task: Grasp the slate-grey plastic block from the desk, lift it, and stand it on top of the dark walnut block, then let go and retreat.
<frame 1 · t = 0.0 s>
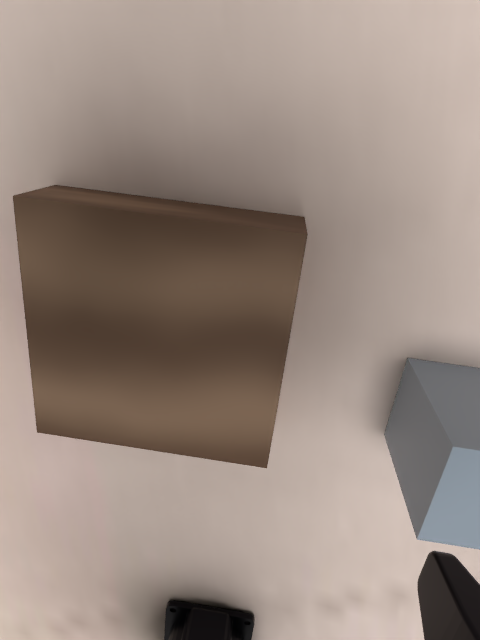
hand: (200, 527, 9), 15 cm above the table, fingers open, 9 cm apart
walnut block: (174, 312, 24), on the table
slate block: (441, 404, 24), on the table
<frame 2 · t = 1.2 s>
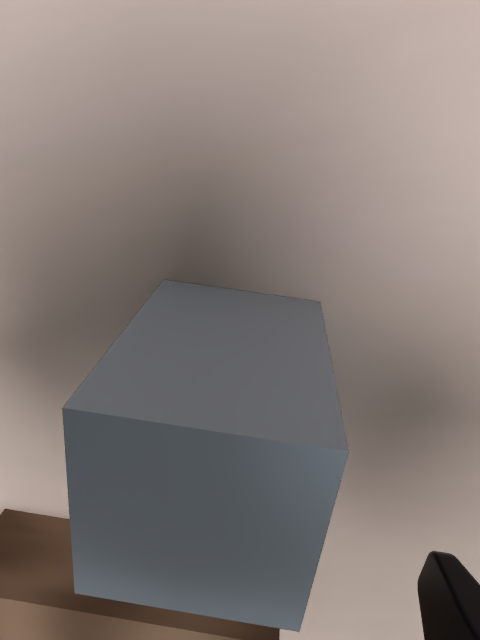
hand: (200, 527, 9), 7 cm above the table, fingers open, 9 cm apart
walnut block: (141, 610, 22), on the table
slate block: (233, 358, 15), on the table
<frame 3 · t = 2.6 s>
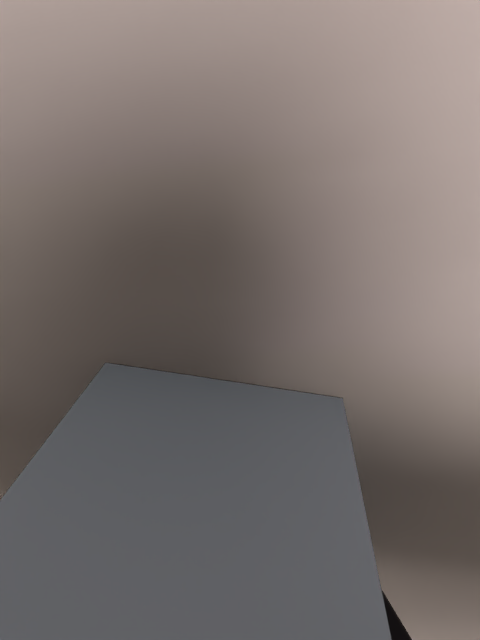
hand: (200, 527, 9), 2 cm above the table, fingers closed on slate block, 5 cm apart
slate block: (212, 471, 10), on the table, touching gripper
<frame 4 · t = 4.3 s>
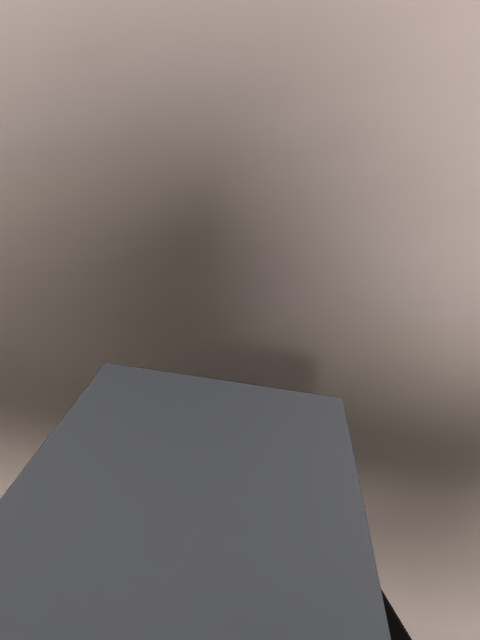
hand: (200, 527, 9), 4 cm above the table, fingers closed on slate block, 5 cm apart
slate block: (212, 471, 10), point 2 cm above the table, touching gripper
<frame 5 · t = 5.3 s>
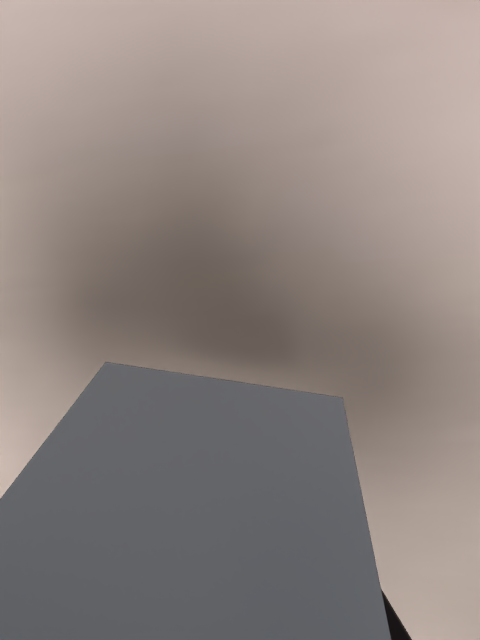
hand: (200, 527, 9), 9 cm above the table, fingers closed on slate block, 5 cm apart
slate block: (212, 471, 10), point 8 cm above the table, touching gripper
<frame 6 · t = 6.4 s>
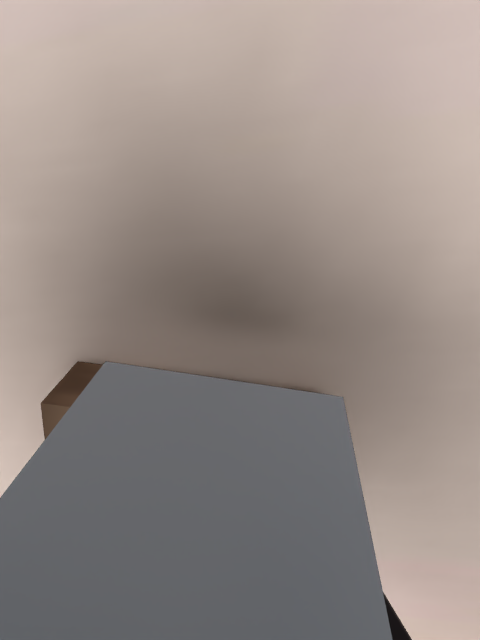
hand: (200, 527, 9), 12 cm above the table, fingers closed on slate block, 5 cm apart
walnut block: (192, 466, 24), on the table
slate block: (212, 470, 10), point 10 cm above the table, touching gripper
when the fingers open (7 cm above the table, at t = 8.9 s): slate block drops 2 cm, resting on walnut block.
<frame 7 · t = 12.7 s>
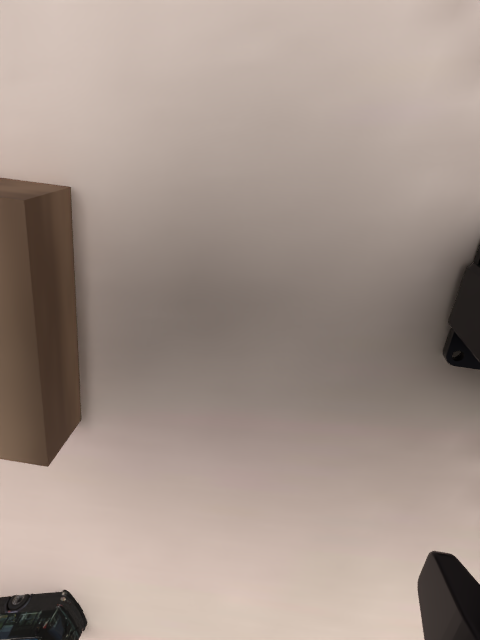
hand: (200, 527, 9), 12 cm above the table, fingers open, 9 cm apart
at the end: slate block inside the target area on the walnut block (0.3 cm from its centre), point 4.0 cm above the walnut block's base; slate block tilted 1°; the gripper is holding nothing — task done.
